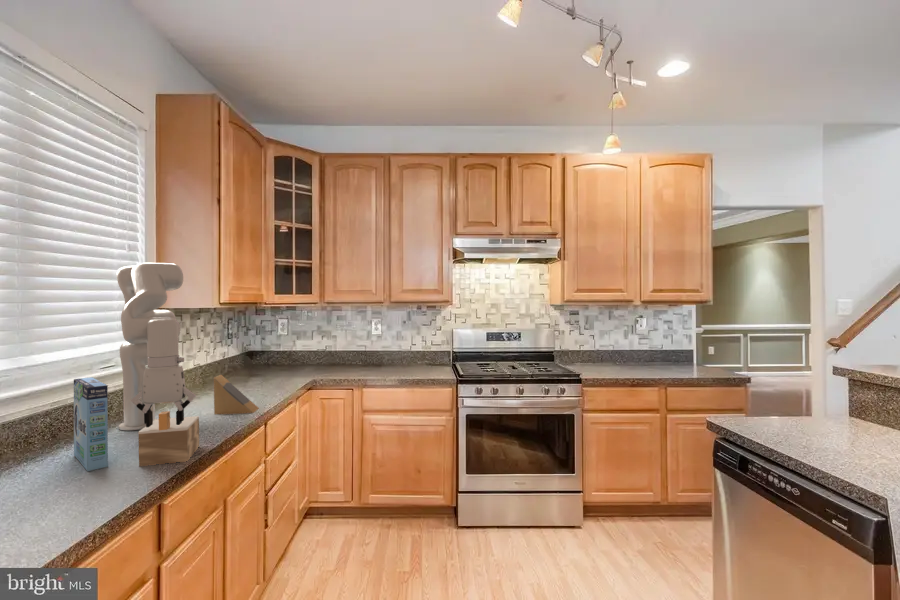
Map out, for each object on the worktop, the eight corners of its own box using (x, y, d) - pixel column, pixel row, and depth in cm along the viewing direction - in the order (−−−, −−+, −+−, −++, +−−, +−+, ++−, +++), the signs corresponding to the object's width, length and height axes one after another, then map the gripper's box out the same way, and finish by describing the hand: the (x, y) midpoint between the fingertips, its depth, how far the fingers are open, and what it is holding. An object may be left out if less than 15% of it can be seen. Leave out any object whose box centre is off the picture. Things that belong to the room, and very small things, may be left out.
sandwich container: (254, 413, 189) (253, 376, 189) (213, 415, 187) (213, 377, 187) (259, 408, 197) (259, 372, 197) (221, 409, 195) (220, 374, 195)
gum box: (73, 456, 139) (72, 379, 139) (95, 451, 143) (93, 376, 143) (86, 472, 126) (85, 387, 126) (109, 467, 130) (108, 384, 129)
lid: (155, 421, 143) (155, 404, 143) (198, 417, 146) (198, 401, 146) (138, 434, 130) (138, 415, 130) (186, 430, 133) (186, 412, 133)
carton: (155, 450, 143) (155, 421, 143) (199, 446, 146) (198, 417, 146) (139, 466, 130) (138, 434, 130) (187, 461, 133) (186, 430, 133)
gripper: (200, 359, 138) (201, 419, 139) (133, 362, 134) (134, 424, 134) (194, 362, 131) (195, 425, 131) (122, 365, 127) (123, 431, 127)
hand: (164, 424), depth 133 cm, fingers open, 6 cm apart
